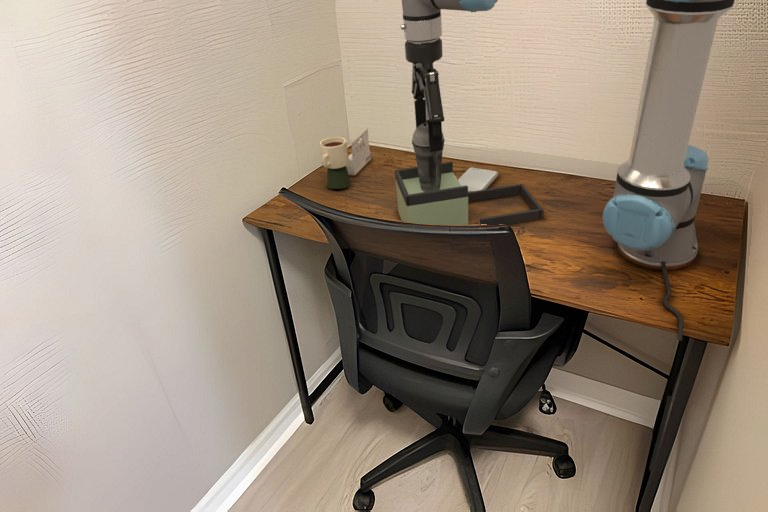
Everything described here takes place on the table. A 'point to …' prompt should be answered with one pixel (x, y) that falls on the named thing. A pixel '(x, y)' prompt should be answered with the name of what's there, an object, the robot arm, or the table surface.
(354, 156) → the ink cartridge box
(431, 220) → the tray
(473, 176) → the hard drive
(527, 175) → the table surface
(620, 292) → the table surface
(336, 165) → the character mug
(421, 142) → the beverage cup
